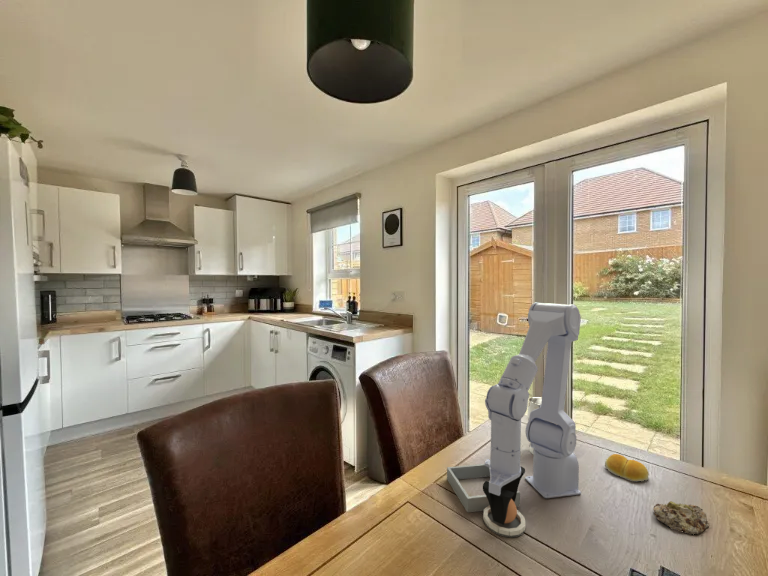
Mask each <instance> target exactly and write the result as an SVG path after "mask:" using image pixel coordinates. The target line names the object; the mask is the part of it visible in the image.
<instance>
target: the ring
mask: <svg viewBox="0 0 768 576" xmlns="http://www.w3.org/2000/svg"><path fill="white" fill-rule="evenodd" d="M482 517H483V518H482V519H483V522H484V525H485V526H486V528H488V529H489V530H490V531H491V532H492V533H494V534H495V535H498V536H501V537H505V538H518V537H520V536H522V535H523V534H524V533H525V530H526V518H525V516H524V515H523V514H522V513H521V512H520V511H519V510H518V509H517V515H516V518H515V519H514V520H513V521H512V522H510V523H504V525H503V524H500V523H498V522H495V521H493V518H492V513H491V509H490V505H489V506H487V507H486V508H485V509H484V511H483V516H482Z"/></svg>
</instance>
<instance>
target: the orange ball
mask: <svg viewBox="0 0 768 576" xmlns="http://www.w3.org/2000/svg"><path fill="white" fill-rule="evenodd" d="M517 510H518V509H517V506H516V505H515V503H514V501H513V500H512V499H511V500H510V502H509V505H508V510H507V516H506V520H505V523H510V522H512V521H513V520H514V519H515V518H516V515H517Z"/></svg>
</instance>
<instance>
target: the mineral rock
mask: <svg viewBox="0 0 768 576" xmlns="http://www.w3.org/2000/svg"><path fill="white" fill-rule="evenodd" d="M653 513H654V516H655V518H656V519H657V520H658V521H659V522H661V523H663V524H665V525H666V526H667V527H668V526H669V527H670V528H669V527H668V528H669V529H671V528H672V529H671V530H673V529H677V530H679V531H683V532H682V533H684V532H686V534H688V533H689V534H688V535H691V534H693V535H692V536H695V535H696V534H697V535H698V534H699V533H703V532H704V531H706V529H707V528H708V527H709V521H708V518H707V517H708V516H707V514H706V512H705V511H704V509H702V508H701V507H700V506H698V505H694V504H691V503H690V504H686V503H676V502H674V501H671V500H670V501H669V502H668V503H667V504H664V503H657V504H655V505H654V506H653ZM677 530H676V531H677ZM679 531H678V532H679ZM694 534H695V535H694Z"/></svg>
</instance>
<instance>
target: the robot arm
mask: <svg viewBox="0 0 768 576" xmlns="http://www.w3.org/2000/svg"><path fill="white" fill-rule="evenodd" d="M581 318H582V316H581V313H580V310H579V308H578V306H577V305H575V304H573V303H572V304H571V303H570V304H564V303H550V302H549V303H548V302H547V303H546V302H539V301H535V302H533V303H531V306H530V307H529V310H528V313H527V320H528V321H527V323H528V326H529V327H528V329H527V332H526V335H525V338H524V341H523V343H522V345H521V348H520V350H519V353H518V354H515V355H513V356H511V358H510V360H509V362H508V363H507V365H506V367H505V369H504V371H503V374H502V375H501V377H500V379H499V381H498V383H496V384H494V385H492V386H490V387H489V388H488V390H487V393H486V396H485V399H484V404H485V408H486V410H487V413H488V416H487V417H488V419H489V420H490V459H489V458H487V459H485V461H484V464H485V466H486V467H489V470H490V476H489V477H490V478H489V481H488V480H484V482H483V483H482V491H483V493H484V495H486V497H487V499H488V501H489V505H490V509H491V513H492V518H493V521H495V522H498V523H500V524H503V525H504V523H505V520H506V516H507V510H508V505H509V502H510V500H511V499H512V500H513V501H514V502H515V499H516V495H517V490H518V489H519V485H520V482H521V480H522V478H523V476H524V474H525V472H526V469H525V467H523V466H521V445H522V444H521V442H522V441H521V440H522V439H521V436H522V419H523V417H524V416H525V415H526V413H527V411H528V404H529V398H530V393H529V390H530V388H531V386H532V384H533V382H534V380H535V378H536V375H537V373H538V371H539V370H538V368H539V367H538V366H537V364H536V362H537V360H538V358H539V357H540V355H541V353H542V351H543V350H544V348H545V347H546V345H547V352H546V357H545V369H544V378H543V385H542V386H543V387H542V395H541V398H542V401H541V407H540V408H537V409H535V410H533V411H532V412H530V416H529V420H528V419H527V423H526V426H525V437H526V439H527V441H528V442H529V443H530V442H531V447H532V448H534V451H533V458H532V461H533V462H532V464H533V465H532V475H527V476H525V477H524V478H525V480H526V482H528V483H529V484H530V485H531V486H532V487H533V488H534V489H535V491H537V492H538V493H539V494H540V495H541V496H542V497H543V498H544V499H550V498H551V499H552V498H553V499H554V498H559V497H568V496H575V495H576V496H577V495H581V494H582V492H581V490H579V480H580V479H579V478H580V477H579V474H580V464H579V460H578V457H577V455H576V453H575V449H576V446H577V434H576V433H577V432H576V431H577V430H576V422H575V421H574V420H573V419H572V418H571V417H570V416H569V415H568V413H567V412H565V402H566V396H567V395H566V393H567V383H568V375H569V365H570V357H571V348H572V342H575V341H578V340H579V336H580V328H581V321H582V319H581ZM518 491H519V490H518Z"/></svg>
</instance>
